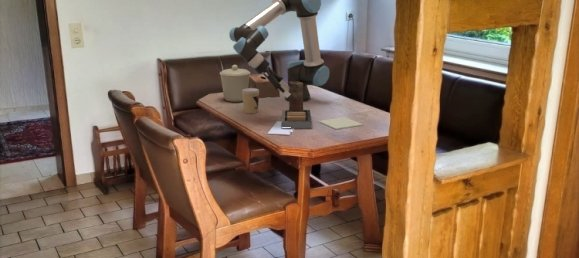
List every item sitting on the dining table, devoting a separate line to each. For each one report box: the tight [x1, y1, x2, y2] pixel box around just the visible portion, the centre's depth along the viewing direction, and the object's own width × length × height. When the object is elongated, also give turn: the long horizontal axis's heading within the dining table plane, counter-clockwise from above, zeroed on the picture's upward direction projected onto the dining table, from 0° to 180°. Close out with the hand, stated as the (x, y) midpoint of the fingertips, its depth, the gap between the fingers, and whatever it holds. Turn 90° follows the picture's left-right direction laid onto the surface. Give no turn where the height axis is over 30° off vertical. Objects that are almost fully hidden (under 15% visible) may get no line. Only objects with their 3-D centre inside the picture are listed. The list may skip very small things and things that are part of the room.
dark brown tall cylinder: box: [288, 81, 304, 112], centre depth 286 cm, size 8×7×20 cm
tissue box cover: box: [248, 73, 281, 99], centre depth 349 cm, size 26×14×10 cm, turn 15°
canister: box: [219, 64, 251, 103], centre depth 329 cm, size 18×18×21 cm
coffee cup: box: [242, 88, 260, 114], centre depth 304 cm, size 9×9×12 cm
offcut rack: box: [281, 109, 312, 130], centre depth 284 cm, size 24×14×4 cm, turn 0°
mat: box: [318, 116, 364, 131], centre depth 282 cm, size 16×16×1 cm
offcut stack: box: [287, 112, 306, 121], centre depth 278 cm, size 4×9×6 cm, turn 90°
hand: (289, 93), depth 285 cm, fingers open, 13 cm apart
